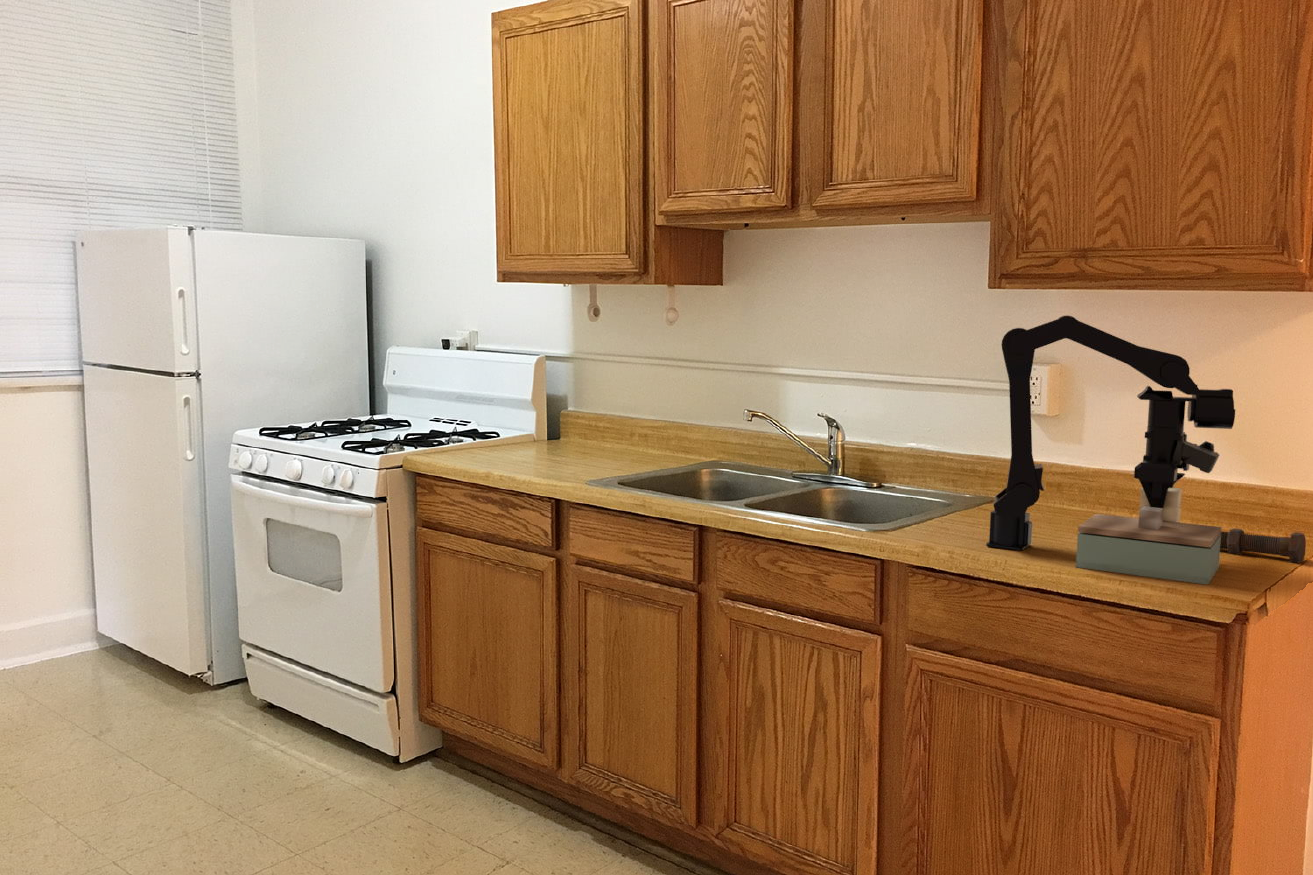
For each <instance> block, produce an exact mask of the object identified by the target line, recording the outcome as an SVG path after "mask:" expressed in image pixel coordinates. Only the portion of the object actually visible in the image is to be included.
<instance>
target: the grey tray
mask: <svg viewBox="0 0 1313 875" xmlns="http://www.w3.org/2000/svg"><path fill="white" fill-rule="evenodd" d="M1076 541H1077V542H1076V556H1075V557H1076V558H1075V559H1076V560H1075V568H1079V569H1087V570H1096V571H1102V572H1109V573H1110V572H1111V573H1117V574H1119V573H1120V574H1125V575H1131V576H1132V575H1133V576H1140V577H1146V578H1154V579H1155V578H1156V579H1163V580H1170V581H1177V582H1186V583H1190V584H1191V583H1192V584H1199V585H1210V582H1211V581H1212V579H1214V578H1213V577H1214V576H1215V575H1216V573H1217V571H1218V570H1219V566H1220V552H1221V549H1220V542H1221V535H1219V537H1218V538H1217V539H1216V541H1215V542H1214V544H1213V545H1212V546H1211V547H1202V546H1193V545H1185V544H1176V543H1168V542H1159V541H1150V540H1142V539H1133V538H1125V537H1116V536H1107V535H1099V534H1090V533H1082V532H1078V533H1077V540H1076Z"/></svg>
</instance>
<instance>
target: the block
mask: <svg viewBox="0 0 1313 875" xmlns="http://www.w3.org/2000/svg"><path fill="white" fill-rule="evenodd" d="M1182 493H1183V488H1177V487H1176V488H1175V487H1173V488H1169V489H1168V493H1167V496H1166V500H1165V504H1164V508H1163V515H1162V521H1170V522H1179V523H1181V522H1180V521H1181V508H1182V507H1181V506H1182ZM1139 494H1140V497H1139V510H1140V509H1141V508H1142V507H1143V506H1146V507H1150V505H1149V502H1148V500H1147V497H1146V495H1145V492H1144V490H1143V487H1142V486H1141V488H1140V493H1139ZM1139 510H1138V511H1139Z"/></svg>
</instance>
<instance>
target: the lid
mask: <svg viewBox="0 0 1313 875" xmlns="http://www.w3.org/2000/svg"><path fill="white" fill-rule="evenodd" d="M1139 509H1140V508H1139ZM1138 511H1139V512H1138V517H1132V516H1123V515H1112V514H1103V513H1095V514H1094V515H1092V516H1090V517H1089V518H1088V519H1087V520H1085V521H1083V522H1082V523H1081V524H1079V525H1078V526H1077V532H1078V533H1080V532H1082V533H1090V534H1099V535H1107V536H1116V537H1125V538H1133V539H1142V540H1150V541H1159V542H1168V543H1176V544H1185V545H1193V546H1202V547H1211V546H1212V545H1213V544H1214V542H1215V541H1216V539H1217V538H1218V537H1219V535H1220V534H1221V531H1222V527H1223V526H1215V525H1207V524H1206V525H1205V524H1196V523H1188V522H1187V523H1186V522H1180V523H1179V522H1170V521H1162V515H1163V508H1155V507H1146V506H1143V507H1142V508H1141V509H1140V510H1138Z"/></svg>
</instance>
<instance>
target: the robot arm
mask: <svg viewBox="0 0 1313 875" xmlns="http://www.w3.org/2000/svg"><path fill="white" fill-rule="evenodd" d="M1064 339H1065V340H1067V339H1068V340H1069V341H1071V342H1072V341H1073V342H1075V343H1077V344H1079V345H1082V346H1084V347H1086V348H1089V349H1091V350H1094V351H1096V352H1098V353H1101V354H1103V355H1105V356H1107V357H1110V358H1112V359H1115V360H1117V361H1119V362H1121V363H1123V364H1126V365H1128V366H1129V367H1131V368H1133V369H1134V370H1136V371H1137V372H1139V373H1140V374H1142V375H1143V376H1145V377H1146V378H1147V379H1149V380H1151V381H1152V382H1154V383H1156V384H1157V385H1159V386H1161V387H1163V388H1166V389H1176V390H1178V391H1179V392H1181V393H1183V394H1185V395H1187V396H1174V394H1173V391H1172V390H1157V389H1156V390H1155V389H1153V388H1152V387H1151V386H1150V385H1147V386H1146V387H1145V388H1144V390H1142V391H1141V392H1140V393H1138V394H1137V395H1136V397H1137V399H1138V400H1143V401H1148V412H1147V414H1148V415H1147V427H1146V430H1147V431H1144V439H1146V442H1145V443H1146V444H1145V445H1146V447H1145V454H1144V455H1143V456H1142V458H1143V459H1142V461H1141V462H1140V463H1138V464H1137V465H1136V466H1134V471H1133V472H1134V474H1133V475H1134V476H1133V479H1137V480H1138V482H1140V484H1141V488H1142V487H1143V490H1144V492H1145V495H1146V497H1147V500H1148V502H1149V505H1150V507H1155V508H1164V504H1165V500H1166V496H1167V493H1168V489H1169V488H1174V486H1175V484H1176V483H1177V482H1178V481H1180V479H1181V480H1182V478H1183V477H1185V475H1186V473H1182V472H1179V471H1178V469H1180V470H1183V471H1185V472H1187V471H1189V470H1190V466H1192V467H1195V468H1197V469H1199V470H1200V471H1201V472H1203V473H1207V474H1210V473H1212V471H1213V469H1214V467H1215V465H1216V463H1217V461H1218V460H1219V457H1220V454H1219V453H1218V452H1215V444H1214V443H1212V442H1209V441H1207V440H1205V441H1204V442H1202V443H1201V444H1199V445H1198V444H1197V443H1193V442H1191V441H1189V440H1188V441H1187V439H1188V438H1187V436H1188V435H1187V433H1186V432H1185V431H1184V428H1185V414H1186V402H1188V403H1187V415H1186V416H1187V421H1188V422H1193V426H1194V428H1197V429H1198V428H1199V429H1201V428H1203V429H1219V430H1220V429H1222V430H1223V429H1225V430H1231V429H1233V427H1234V424H1235V417H1236V409H1235V402H1234V390H1233V389H1232V388H1231V389H1230V388H1220V389H1209V388H1208V389H1207V388H1206V389H1204V388H1203V389H1201V388H1199V386H1198V384H1197V383H1195V382H1194V380H1193V379H1192V378H1191V376H1190V372H1191V371H1190V365H1189V363H1188V361H1187V360H1186V359H1185V358H1183V357H1182V356H1181V355H1180V356H1179V355H1177V354H1174V353H1170V352H1165V351H1161V350H1157V349H1153V348H1148V347H1144V346H1140V345H1137V344H1134V343H1132V342H1130V341H1128V340H1125V339H1123V338H1120V337H1118V336H1116V335H1113V334H1111V333H1109V332H1106V331H1103V330H1101V329H1099V328H1097V327H1095V326H1092V325H1090V324H1088V323H1085V322H1082V321H1081V320H1078V319H1077V318H1075V317H1074V316H1072V315H1062V316H1059V317H1058V318H1057V319H1054V320H1052V321H1048V322H1046V323H1043V324H1041V325H1038V326H1035V327H1032V328H1029V329H1025V328H1024V327H1015V328H1012V329H1010V330H1008V331H1007V332H1006V333H1005V334H1004V335H1003V338H1002V340H1001V350H1002V355H1003V360H1004V365H1005V368H1006V369H1005V370H1006V373H1007V376H1008V384H1009V386H1008V388H1009V415H1010V416H1009V417H1010V418H1009V419H1010V422H1009V423H1010V445H1011V448H1010V449H1011V450H1010V452H1011V453H1010V454H1011V455H1010V460H1009V461H1010V462H1009V467H1008V473H1007V481H1006V487H1004V489H1003V490H1001V491H1000V492H998V493H997V494H996V495H995V496H994V498H993V508H994V509H993V510H991V511H990V517H989V518H990V519H989V535H988V536H989V539H988V542H986V544H985V546H986V547H992V548H993V547H994V548H1001V549H1008V550H1016V551H1023V550H1024V549H1027V547H1029V546H1031V544H1032V536H1033V521H1030V514H1031V513H1030V512H1027V510H1028V508H1030V507H1032V506H1034V505H1035V504H1036V503H1037V502H1038V501H1039V498H1040V494H1041V492H1040V491H1042V492H1044V491H1045V489H1044V483H1043V480H1042V479H1043V472H1044V468H1043V467H1044V466H1043V463H1037V464H1035V461H1034V455H1033V442H1032V441H1033V438H1032V407H1031V405H1032V404H1031V403H1032V402H1031V400H1032V399H1031V377H1032V369H1033V365H1034V358H1035V351H1036V349H1037V350H1038V349H1039V348H1040V349H1041V348H1042V347H1045V346H1049V345H1050V344H1054V343H1056V342H1058V341H1059V342H1060V341H1062V340H1064ZM1188 396H1189V397H1188ZM1190 396H1191V397H1190Z"/></svg>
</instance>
